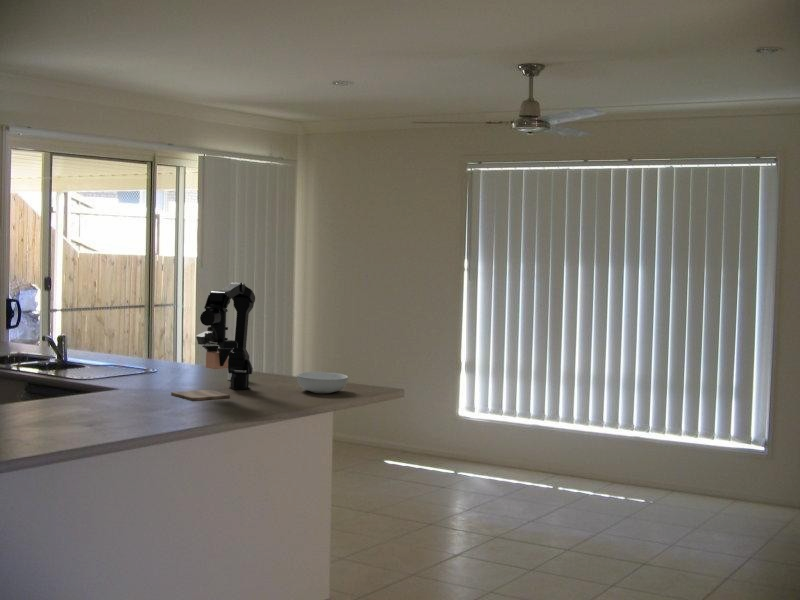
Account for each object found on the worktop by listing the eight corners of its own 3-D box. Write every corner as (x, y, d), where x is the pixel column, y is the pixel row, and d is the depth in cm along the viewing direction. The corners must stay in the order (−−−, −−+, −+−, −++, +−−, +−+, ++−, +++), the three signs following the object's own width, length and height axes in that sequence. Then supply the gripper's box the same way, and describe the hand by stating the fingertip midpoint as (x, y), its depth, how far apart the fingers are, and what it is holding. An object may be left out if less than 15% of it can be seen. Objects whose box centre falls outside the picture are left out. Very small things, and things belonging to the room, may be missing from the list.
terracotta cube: (219, 366, 361) (219, 351, 361) (227, 368, 357) (228, 352, 356) (205, 367, 357) (206, 351, 357) (214, 369, 353) (214, 353, 352)
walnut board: (207, 392, 368) (207, 389, 368) (229, 397, 357) (229, 395, 357) (171, 394, 358) (171, 392, 358) (192, 400, 346) (192, 398, 346)
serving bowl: (307, 396, 367) (308, 379, 367) (288, 389, 386) (289, 372, 386) (355, 395, 377) (356, 378, 377) (335, 387, 395) (335, 371, 395)
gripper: (186, 322, 357) (185, 363, 358) (213, 326, 344) (212, 369, 344) (211, 322, 365) (210, 362, 366) (239, 326, 352) (237, 367, 352)
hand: (216, 365), depth 357 cm, fingers closed on terracotta cube, 6 cm apart
